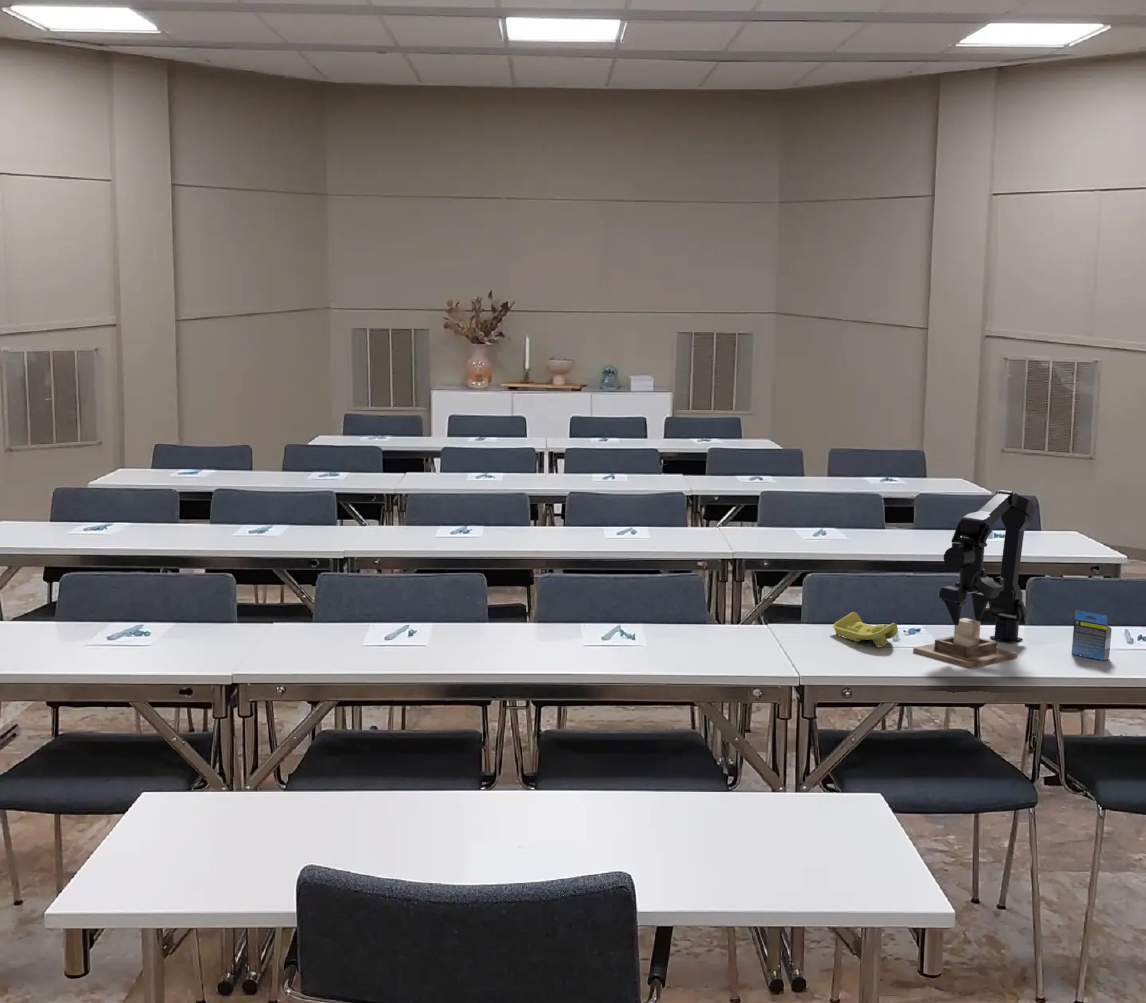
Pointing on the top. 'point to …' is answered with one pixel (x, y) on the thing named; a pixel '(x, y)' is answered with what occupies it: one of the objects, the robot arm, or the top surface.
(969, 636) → the birch peg
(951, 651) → the holder board
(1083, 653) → the blue retail box
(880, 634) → the plastic component
